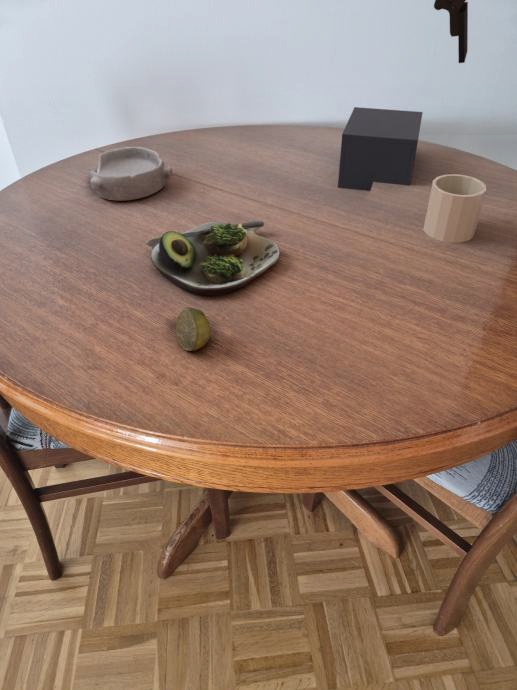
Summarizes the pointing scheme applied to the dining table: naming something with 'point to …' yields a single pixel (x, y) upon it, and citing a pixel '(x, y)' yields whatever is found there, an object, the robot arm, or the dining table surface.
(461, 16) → the robot arm
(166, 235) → the salad plate
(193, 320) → the lime
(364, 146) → the cabinet
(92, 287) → the dining table surface
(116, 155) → the dish
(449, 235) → the cup
